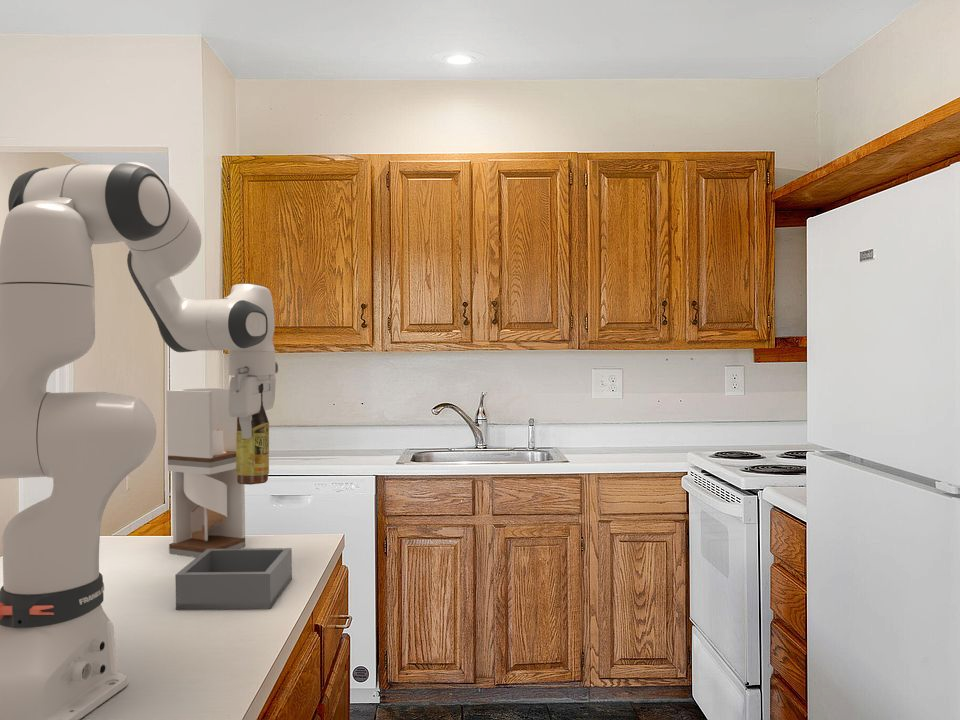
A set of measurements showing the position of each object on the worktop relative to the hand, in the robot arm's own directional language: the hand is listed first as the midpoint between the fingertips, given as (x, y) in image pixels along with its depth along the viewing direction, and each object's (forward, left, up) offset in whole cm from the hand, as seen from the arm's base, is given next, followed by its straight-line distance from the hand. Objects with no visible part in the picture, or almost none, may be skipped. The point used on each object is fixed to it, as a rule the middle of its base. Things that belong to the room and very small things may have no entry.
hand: (252, 435), depth 153 cm
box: (-15, -1, -27) cm, 30 cm away
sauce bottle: (0, 0, -10) cm, 10 cm away
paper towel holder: (+14, +14, -27) cm, 33 cm away
